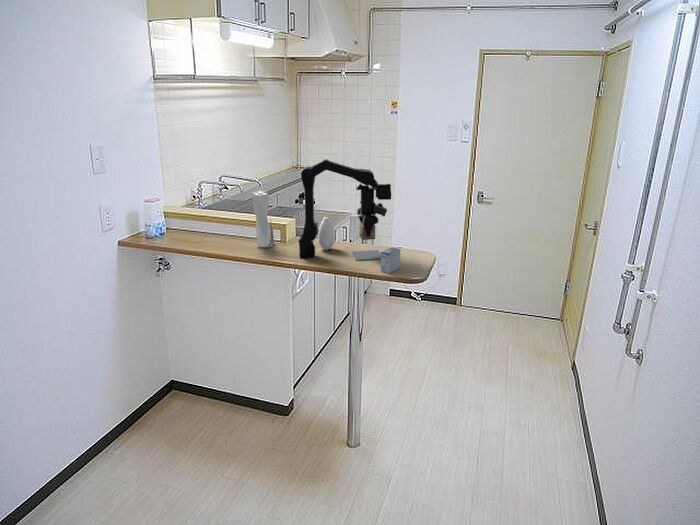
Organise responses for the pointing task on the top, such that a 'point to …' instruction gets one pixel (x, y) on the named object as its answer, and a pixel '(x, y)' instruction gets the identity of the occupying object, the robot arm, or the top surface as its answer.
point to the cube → (364, 235)
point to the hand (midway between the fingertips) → (367, 234)
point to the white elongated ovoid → (326, 234)
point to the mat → (367, 255)
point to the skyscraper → (262, 220)
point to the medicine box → (390, 260)
